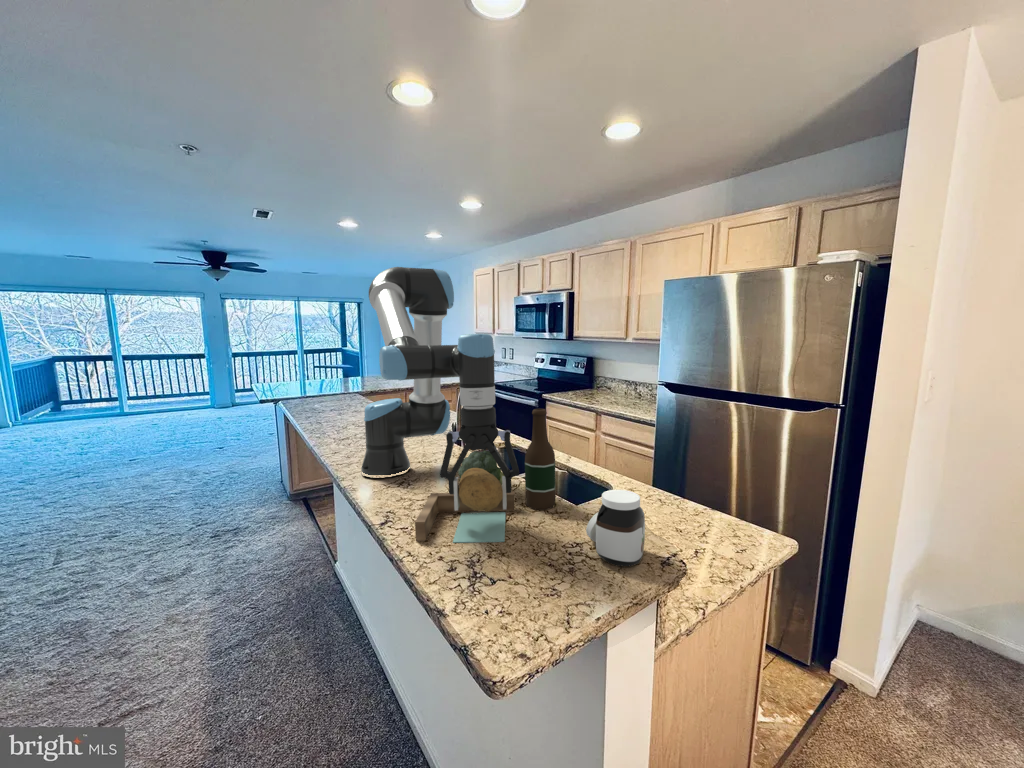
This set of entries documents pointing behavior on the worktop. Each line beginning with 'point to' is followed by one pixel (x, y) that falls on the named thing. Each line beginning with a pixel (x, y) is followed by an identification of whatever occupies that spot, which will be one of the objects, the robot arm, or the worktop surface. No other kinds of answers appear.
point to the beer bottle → (540, 466)
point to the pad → (480, 527)
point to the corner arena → (446, 504)
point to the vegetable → (481, 464)
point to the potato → (480, 490)
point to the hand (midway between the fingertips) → (480, 507)
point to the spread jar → (619, 528)
